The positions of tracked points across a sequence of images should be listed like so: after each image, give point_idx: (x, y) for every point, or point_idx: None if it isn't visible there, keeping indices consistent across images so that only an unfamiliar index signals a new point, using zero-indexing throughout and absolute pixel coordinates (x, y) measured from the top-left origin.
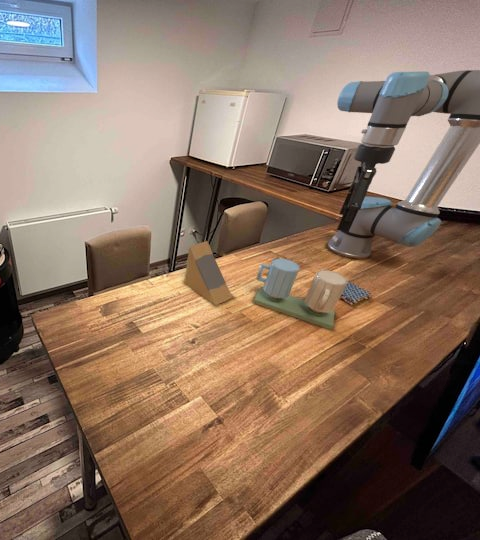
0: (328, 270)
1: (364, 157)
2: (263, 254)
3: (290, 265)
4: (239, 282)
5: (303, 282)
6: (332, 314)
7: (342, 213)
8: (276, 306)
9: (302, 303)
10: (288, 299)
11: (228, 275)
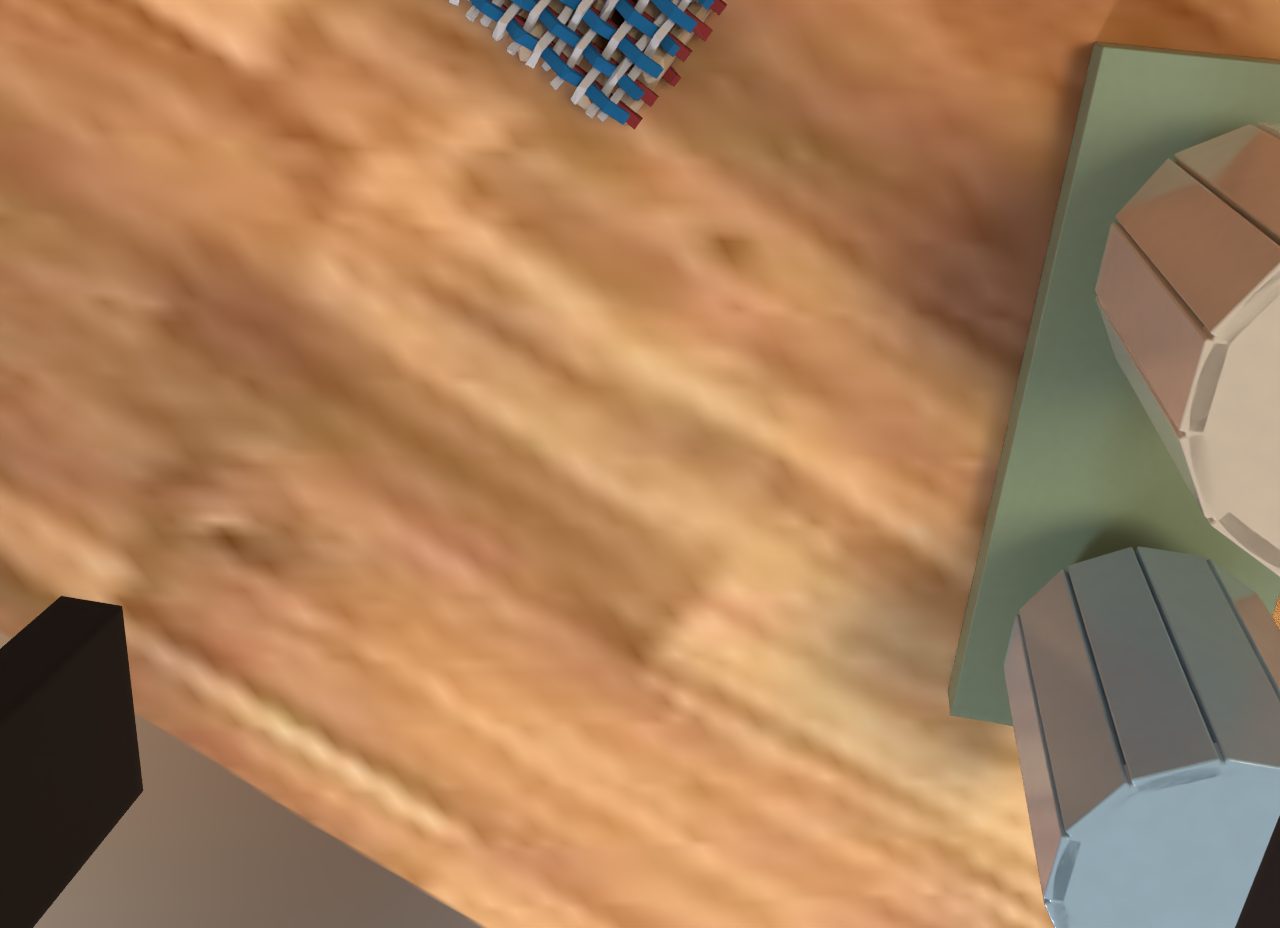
0: (1183, 431)
1: None
2: (234, 665)
3: (1221, 851)
4: (900, 840)
5: (594, 311)
6: (1219, 77)
7: (124, 764)
8: (1275, 590)
9: (1116, 363)
10: (1095, 487)
11: (821, 921)
